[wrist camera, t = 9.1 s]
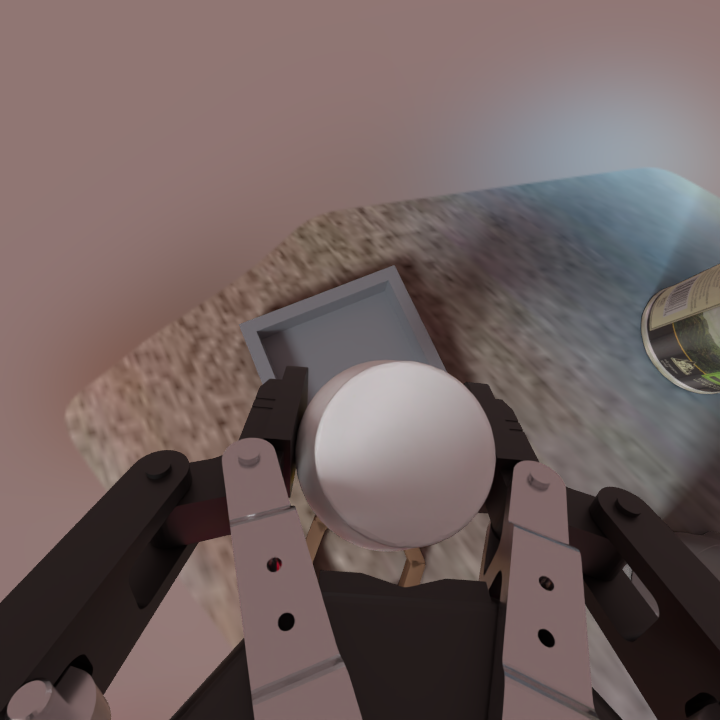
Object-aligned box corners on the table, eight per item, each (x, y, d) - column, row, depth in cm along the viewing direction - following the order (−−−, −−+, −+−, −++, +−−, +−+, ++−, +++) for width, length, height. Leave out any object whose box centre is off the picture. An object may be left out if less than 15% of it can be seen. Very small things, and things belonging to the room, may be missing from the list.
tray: (388, 280, 34) (394, 264, 31) (455, 417, 31) (467, 414, 29) (247, 335, 32) (238, 324, 29) (307, 485, 29) (304, 490, 27)
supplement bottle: (371, 539, 17) (416, 654, 7) (284, 452, 17) (223, 458, 8) (449, 446, 18) (575, 445, 8) (365, 368, 18) (396, 286, 9)
